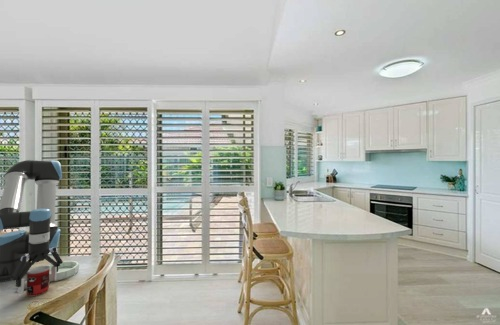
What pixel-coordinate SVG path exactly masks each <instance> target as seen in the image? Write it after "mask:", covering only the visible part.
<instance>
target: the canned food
mask: <svg viewBox="0 0 500 325" xmlns="http://www.w3.org/2000/svg"><path fill="white" fill-rule="evenodd" d="M26 279H27V289H26V296H28V297H34V296H40V295H43V294H45V293H46V292H48V290H49V289H50V282H49V266H47V265H40V266H35V267H31V268H30V269H29V270H28V271H27V274H26Z"/></svg>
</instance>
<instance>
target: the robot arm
mask: <svg viewBox="0 0 500 325" xmlns="http://www.w3.org/2000/svg"><path fill="white" fill-rule="evenodd" d="M62 179H63V172H62V165H61V162H59V161H58V160H32V159H29V160H28V159H26V160H23V161H19V162H17V163H15V164H13V165H12V166H11V167H10V168H8V169H7V170H6V172H5V175H4V178H3V180H4V181H5V184H4V186H3V191H2V195H1V199H0V230H7V229H8V230H9V229H15V228H16V229H17V228H29V232H27V230H26V229H22V230H15V231H10V232H5V233H3V234H1V235H0V282H7V281H15V287H16V288H17V294H20V295H23V294H24V292H25V289H24V280H25V279H24V276H27V271H28V270H30V269H31V268H32V266H34V265H35V264H36V263H39V262H43V261H45V260H46V261H47V262H48V263H49V264H52V265H54V266H52V267H51V280H56V276H57V272H58V266H60V264H62V263H63V261H64V260H62V257H60V255H59V253H58V251H57V248H58V246H59V242H60V235H61V231H62V230H61V228H59V226H58V225H57V224H56V202H57V201H56V199H57V198H56V196H57V194H56V193H57V184H59V183H60V180H62ZM29 180H34V184H36V185H37V191H36V193H37V194H36V208H35V209H32V210H30V211H29V210H27V211H20V210H21V204H22V200H23V196H24V195H23V194H24V188H25V184H26V183H27V182H28V181H29ZM49 253H51V255H52V257H53V258H54V259H53V258H52V257H51V256H50V255H49Z"/></svg>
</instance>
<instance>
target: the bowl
mask: <svg viewBox="0 0 500 325" xmlns="http://www.w3.org/2000/svg"><path fill="white" fill-rule="evenodd" d="M62 261H63V263H62V264H60V266H58V272H57V276H56V280H51V267H52V266H54V265H52V264H51V263H49V264H47V265H46V266H49V283H50V282H57V281H61V280H65V279H68V278H71V277H73V276H75V275H76V274H77V273H78V272H79V270H80V269H79V268H80V265H79V262H78V261H75V260H62Z"/></svg>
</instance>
